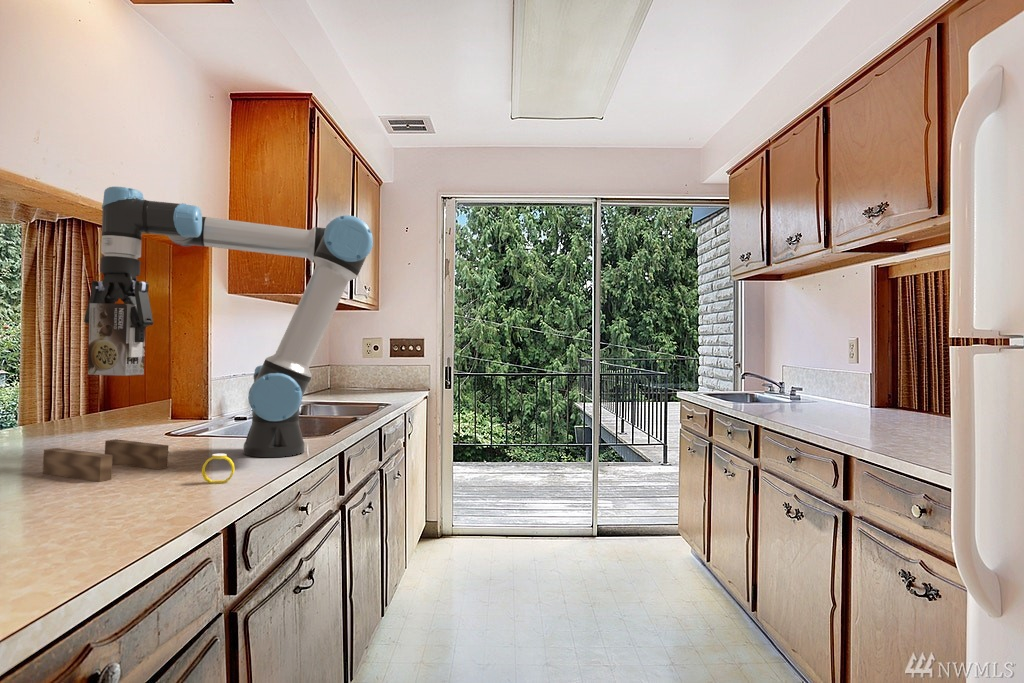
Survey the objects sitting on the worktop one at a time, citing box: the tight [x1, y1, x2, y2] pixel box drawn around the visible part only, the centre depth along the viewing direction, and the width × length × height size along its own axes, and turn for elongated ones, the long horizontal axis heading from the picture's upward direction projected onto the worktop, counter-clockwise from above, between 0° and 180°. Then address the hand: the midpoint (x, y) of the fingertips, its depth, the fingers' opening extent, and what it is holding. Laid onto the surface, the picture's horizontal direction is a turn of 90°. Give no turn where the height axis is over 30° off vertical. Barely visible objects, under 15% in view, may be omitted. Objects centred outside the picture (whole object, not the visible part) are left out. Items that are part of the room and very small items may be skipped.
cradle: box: [42, 438, 169, 483], centre depth 128 cm, size 16×16×5 cm
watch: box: [201, 452, 236, 484], centre depth 122 cm, size 6×3×6 cm, turn 106°
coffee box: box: [87, 302, 147, 377], centre depth 132 cm, size 9×6×16 cm
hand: (117, 356), depth 132 cm, fingers closed on coffee box, 10 cm apart
